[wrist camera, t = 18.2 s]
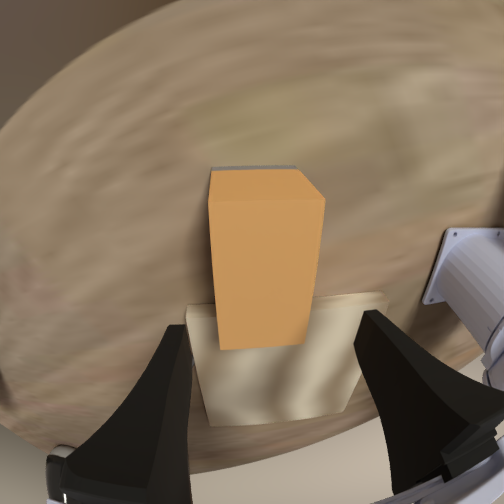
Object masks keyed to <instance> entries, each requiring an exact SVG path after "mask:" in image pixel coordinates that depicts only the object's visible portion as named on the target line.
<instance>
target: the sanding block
mask: <svg viewBox="0 0 504 504" xmlns="http://www.w3.org/2000/svg"><path fill="white" fill-rule="evenodd" d="M208 208H209V224H210V239H211V253H212V266H213V278H214V290H215V301H216V312H217V323H218V333H219V342H220V350H233V349H249V348H263V347H276V346H287V345H297V344H305V338H306V333H307V327H308V321H309V316H310V310H311V304H312V297H313V291H314V285H315V278H316V271H317V264H318V257H319V250H320V242H321V234H322V226H323V217H324V208H325V198H324V197H323V196H322V195H321V194H320V193H319V192H318V190H317V189H316V188H315V187H314V186H313V185H312V184H311V183H310V182H309V180H308V179H307V178H306V177H305V176H304V175H303V174H302V173H301V172H300V171H299V170H298V168H297V167H296V166H227V167H212V172H211V181H210V190H209V199H208Z"/></svg>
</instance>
